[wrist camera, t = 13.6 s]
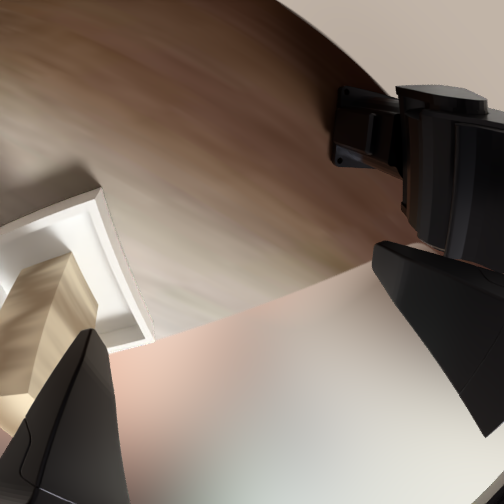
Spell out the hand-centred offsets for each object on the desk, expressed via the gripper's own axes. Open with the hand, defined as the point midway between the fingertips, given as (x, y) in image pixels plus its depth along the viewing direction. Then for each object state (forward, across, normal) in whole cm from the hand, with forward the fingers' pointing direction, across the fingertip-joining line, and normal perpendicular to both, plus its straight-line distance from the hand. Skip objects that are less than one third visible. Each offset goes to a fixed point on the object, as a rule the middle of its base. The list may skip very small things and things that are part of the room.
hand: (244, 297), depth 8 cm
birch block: (+12, +12, +5) cm, 18 cm away
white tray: (+13, +12, +5) cm, 18 cm away
